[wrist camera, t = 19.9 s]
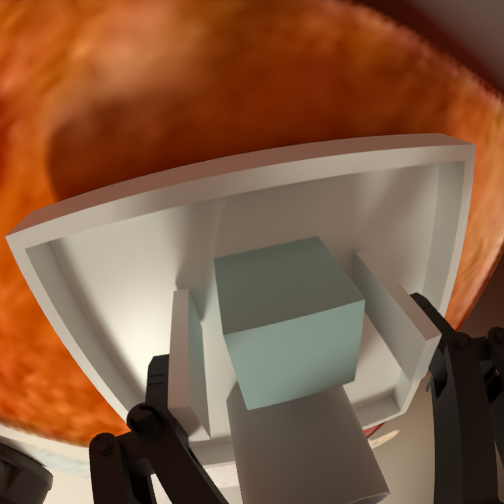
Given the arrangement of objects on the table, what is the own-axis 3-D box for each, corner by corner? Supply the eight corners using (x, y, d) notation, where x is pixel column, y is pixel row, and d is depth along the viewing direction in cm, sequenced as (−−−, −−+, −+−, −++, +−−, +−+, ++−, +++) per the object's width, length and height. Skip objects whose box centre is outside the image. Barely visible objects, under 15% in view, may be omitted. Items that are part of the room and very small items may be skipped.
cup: (331, 342, 18) (397, 481, 10) (343, 400, 23) (386, 501, 14) (206, 386, 18) (225, 531, 10) (247, 433, 23) (270, 538, 14)
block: (233, 335, 17) (247, 410, 12) (213, 258, 14) (223, 334, 10) (320, 313, 17) (354, 381, 13) (317, 235, 14) (365, 299, 10)
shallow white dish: (174, 432, 25) (175, 470, 21) (44, 200, 13) (4, 236, 10) (387, 380, 27) (405, 412, 23) (423, 128, 15) (475, 144, 11)
